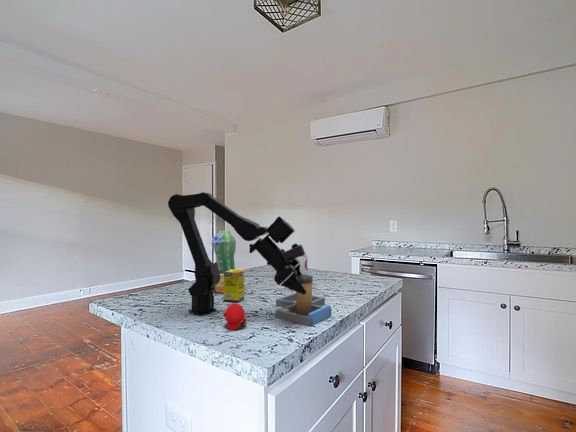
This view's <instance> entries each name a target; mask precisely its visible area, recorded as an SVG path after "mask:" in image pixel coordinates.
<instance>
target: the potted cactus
mask: <svg viewBox="0 0 576 432" xmlns="http://www.w3.org/2000/svg"><path fill="white" fill-rule="evenodd" d="M236 243H237V240H236V237H235V235H233V233H232V231H230V230H219V232H218V233H216V234H215V235H214V236H213V237H212V238H211V249H213V252H214V253H215V255H216V258H217V264H218V268H219V270H220V272H221V274H220V281H219V283H218V284H217V285H216V286H215V288H214V289H215V292H216V293H221V294H224V272H226V271H228V270H230V269H233V270H243V269H242V268H235V267H236V265H235V254H236V253H235V252H236V245H237V244H236Z"/></svg>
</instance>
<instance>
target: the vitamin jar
mask: <svg viewBox="0 0 576 432" xmlns="http://www.w3.org/2000/svg"><path fill="white" fill-rule="evenodd" d="M296 276H297V279H298V280H299V281H300V283H301V284H302V286H303V287H304V289H305V290H306V294H301V293H299V292H297V291H295V293H296V300H295V302H296V312H295V314H300V315H304V316H308V313H311V312H312V295H313V275H311V274H307V275H296Z"/></svg>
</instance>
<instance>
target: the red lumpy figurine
mask: <svg viewBox="0 0 576 432" xmlns="http://www.w3.org/2000/svg"><path fill="white" fill-rule="evenodd" d="M223 317H224V318H225V321H226V326H227V329H228V330H229V331H231V332H232V331H233V332H235V331H236V330H237V329H238V328H239V327H240V325H242V326H244V325H246V323H247V316H246V313H245V309H244V308H243V306H242V305H241V304H239V303H237V302H233V303H231V304H230V305H228V306H227V308H226V310H225V311H224V313H223Z"/></svg>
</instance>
